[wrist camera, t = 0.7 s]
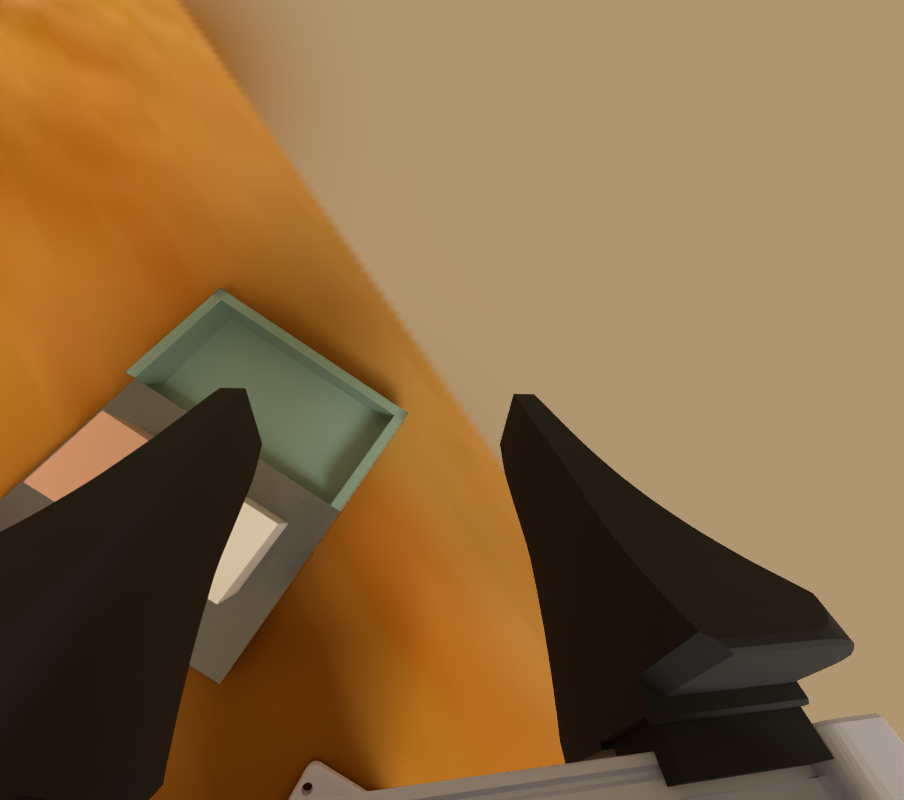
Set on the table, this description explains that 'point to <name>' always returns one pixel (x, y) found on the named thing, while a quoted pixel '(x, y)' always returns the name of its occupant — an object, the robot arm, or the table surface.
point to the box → (277, 394)
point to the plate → (248, 609)
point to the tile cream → (245, 548)
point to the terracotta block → (87, 455)
